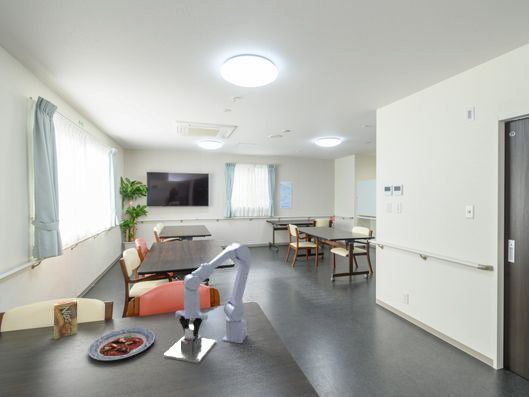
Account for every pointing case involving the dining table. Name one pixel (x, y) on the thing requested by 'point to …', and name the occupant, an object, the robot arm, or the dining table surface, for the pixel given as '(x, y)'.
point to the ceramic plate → (121, 344)
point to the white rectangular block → (190, 333)
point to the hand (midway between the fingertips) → (191, 334)
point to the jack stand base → (190, 349)
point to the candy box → (65, 319)
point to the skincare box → (198, 304)
